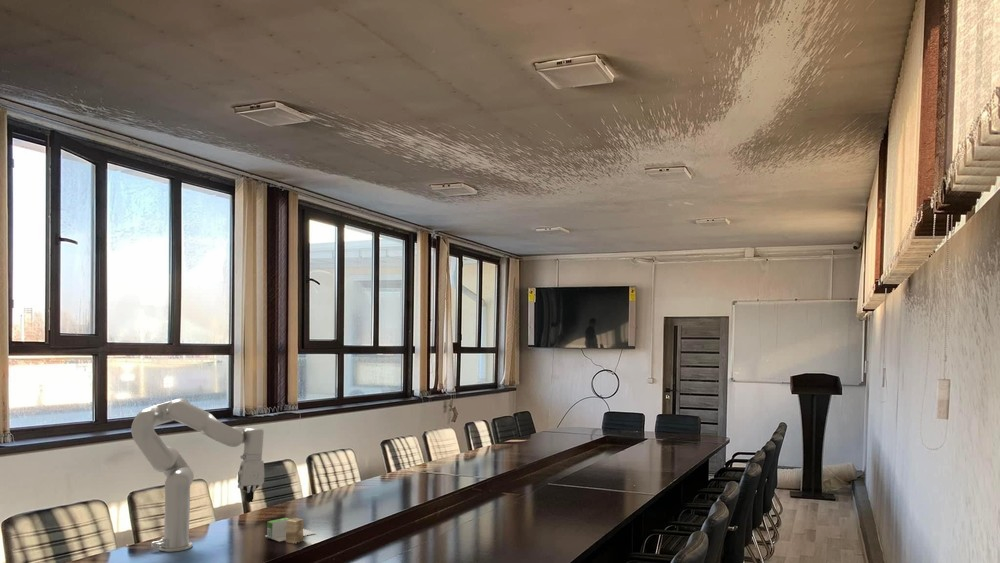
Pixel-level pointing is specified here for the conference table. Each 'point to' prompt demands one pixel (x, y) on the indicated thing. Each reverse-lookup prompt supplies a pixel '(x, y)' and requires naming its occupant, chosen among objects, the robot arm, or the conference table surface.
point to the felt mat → (305, 533)
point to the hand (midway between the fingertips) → (248, 501)
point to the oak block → (294, 530)
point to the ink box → (276, 528)
